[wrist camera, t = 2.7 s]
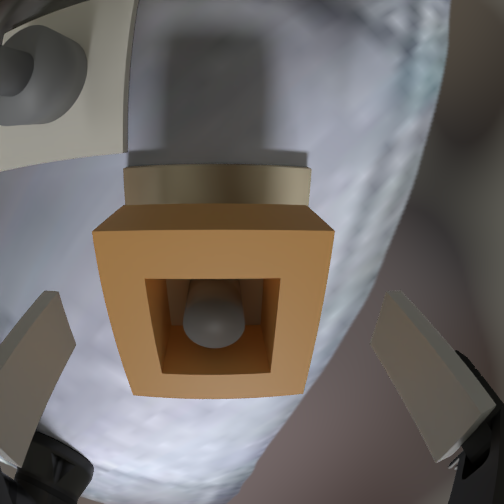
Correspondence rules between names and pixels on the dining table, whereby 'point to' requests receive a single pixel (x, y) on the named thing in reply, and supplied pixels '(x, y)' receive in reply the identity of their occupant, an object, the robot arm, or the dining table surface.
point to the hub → (66, 84)
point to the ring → (214, 267)
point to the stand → (216, 191)
